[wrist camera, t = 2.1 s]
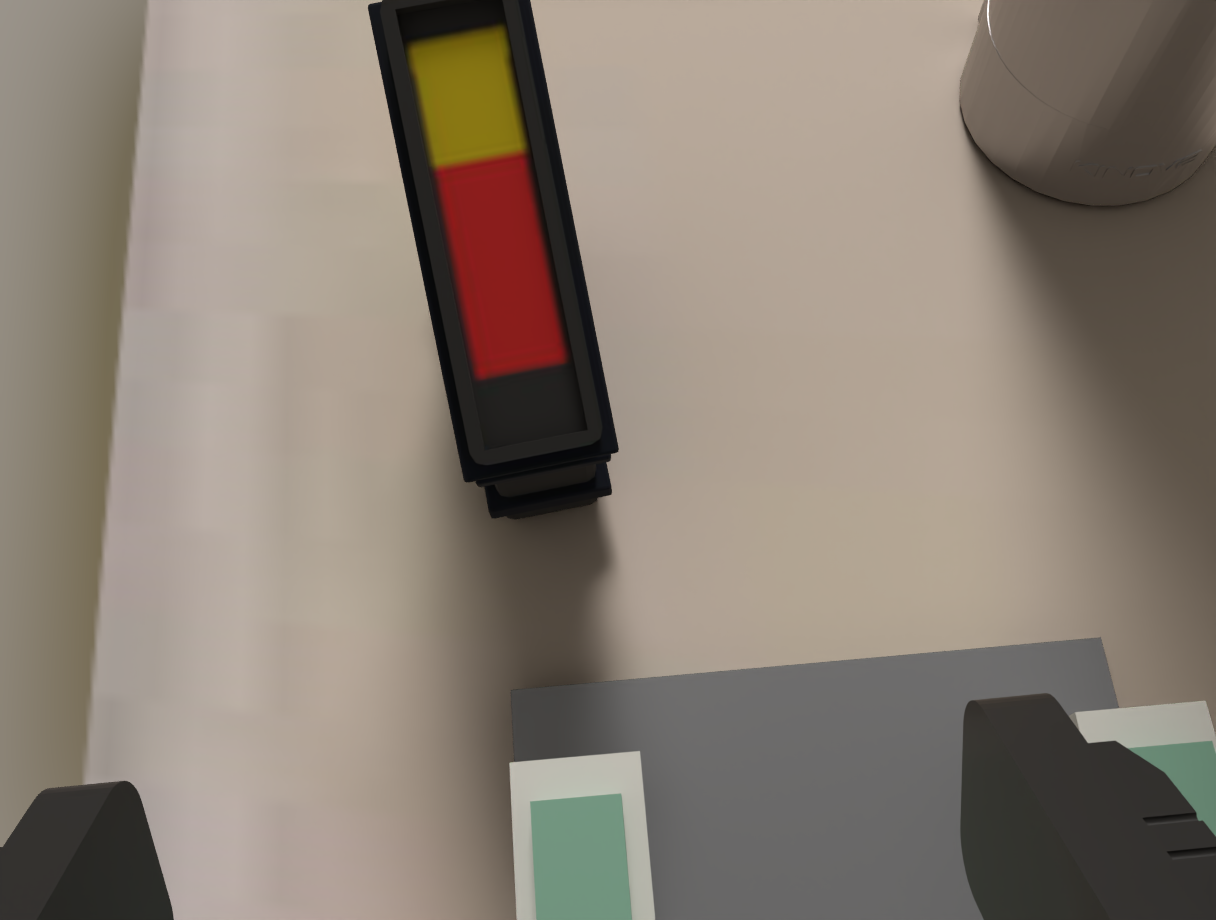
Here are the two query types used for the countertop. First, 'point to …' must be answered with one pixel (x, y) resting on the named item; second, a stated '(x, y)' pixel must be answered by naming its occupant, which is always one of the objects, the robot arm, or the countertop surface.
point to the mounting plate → (792, 783)
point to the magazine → (497, 250)
